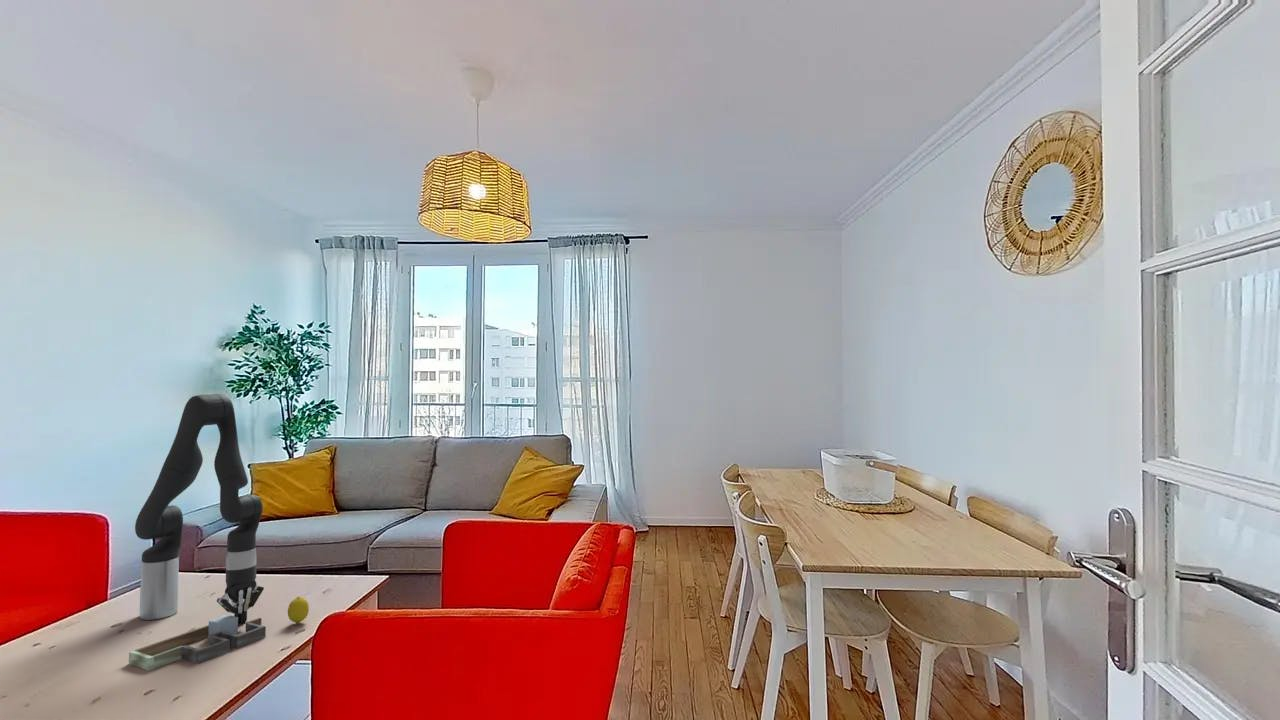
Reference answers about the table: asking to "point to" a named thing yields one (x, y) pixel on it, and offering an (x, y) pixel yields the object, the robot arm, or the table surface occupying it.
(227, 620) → the block
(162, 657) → the trap box
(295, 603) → the lemon
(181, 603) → the table surface
